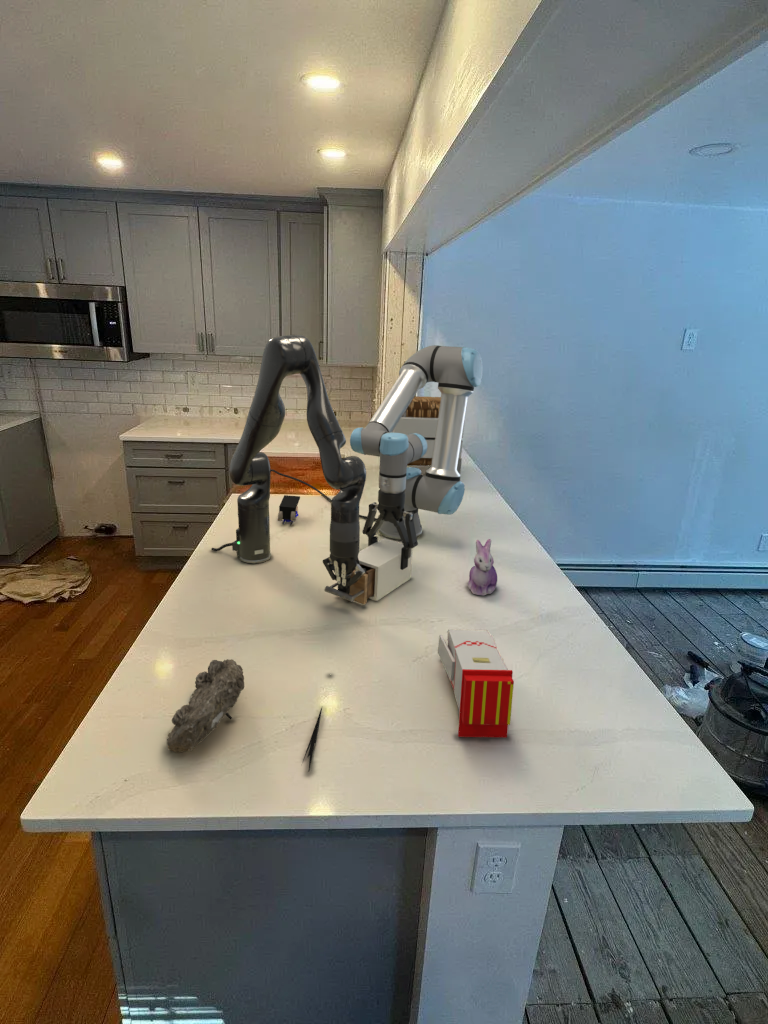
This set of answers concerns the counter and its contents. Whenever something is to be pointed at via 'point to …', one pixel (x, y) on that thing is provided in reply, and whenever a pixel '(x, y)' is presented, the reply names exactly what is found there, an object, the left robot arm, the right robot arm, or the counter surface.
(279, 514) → the figurine character
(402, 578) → the cabinet
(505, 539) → the counter surface
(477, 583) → the figurine
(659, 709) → the counter surface
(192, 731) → the fossil
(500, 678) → the toy
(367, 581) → the drawer
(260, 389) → the left robot arm
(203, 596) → the counter surface
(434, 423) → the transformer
